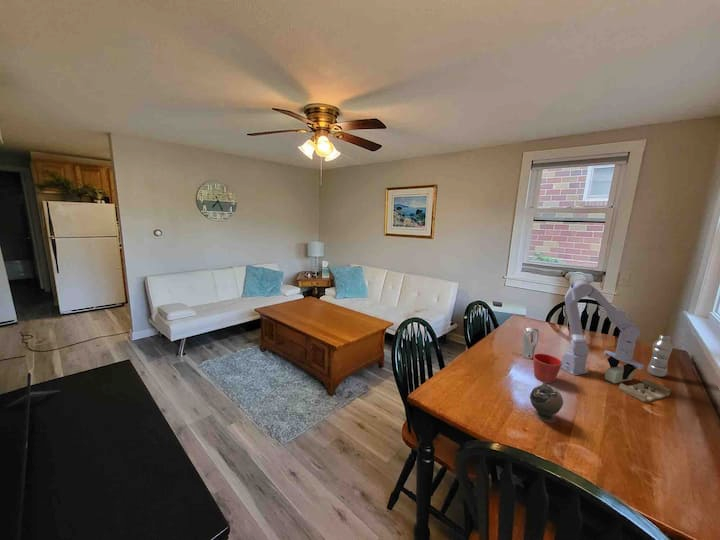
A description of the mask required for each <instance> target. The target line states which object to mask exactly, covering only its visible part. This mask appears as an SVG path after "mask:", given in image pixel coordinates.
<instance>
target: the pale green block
mask: <svg viewBox="0 0 720 540" xmlns="http://www.w3.org/2000/svg"><path fill="white" fill-rule="evenodd" d="M623 373H624V367H623V365H618V367H612V368H610V367H609V368H606V371H605V374H604V379H605V380H607V381H609V382H610V383H613V384H618V383H619V384H620V383H623V382H626V381H627V382H629V381H632V380H633V377H634V373H635V370H634V371H632V372H631V374H630V375H629V376H628V378H627V379H625V380H624V379H623Z"/></svg>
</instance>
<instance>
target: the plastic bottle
mask: <svg viewBox="0 0 720 540" xmlns="http://www.w3.org/2000/svg"><path fill="white" fill-rule="evenodd" d="M671 340H672V336H670V335H668V334H664V333H660V334H659V336H658V339H656V340H655V341H653V343H652V353H651V354H652V355H651V359H650V361H649V363H648V364H647V372H648V373H649V374H650V375H652V376H655V377H659V378H664V377H666V376H667V374H668V363H669V359H670V356H671V353H672V351H673V349H674V348H673V344H672V343H671V342H670V341H671Z"/></svg>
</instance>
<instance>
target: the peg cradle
mask: <svg viewBox="0 0 720 540" xmlns="http://www.w3.org/2000/svg"><path fill="white" fill-rule="evenodd" d="M618 390H619V391H620V392H622V393H624V394H627V395H628V396H629V397H633V398H635V399H636V400H639V401H640V402H642V403H645V404H646V403H648V402H651V401H655V400H660V399H663V398H667V397H670V394H671V388H668V387H665V386H663V385H661V384H659V383H656V382H655V381H652V380H649V379H648V378H646V377H644V378H642V381H641V382H640V383H636V384H631V385H626V384H624V383H623V382H619V387H618Z"/></svg>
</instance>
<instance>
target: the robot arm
mask: <svg viewBox="0 0 720 540" xmlns="http://www.w3.org/2000/svg"><path fill="white" fill-rule="evenodd" d="M586 297H587V298H589V299H592V300H593V299H594V300H595V301H596V302H597V303H598V304H599V305H600V306H601V307H602V308H603V309H604V310H605V311H606V317H607V318H608V319H609V320H610V322H612V324H614V325H615V327H617V328H618V330H619V331H620V332H619V335H618V340H617V345H616V348H615V352H613V351H609V350H603V355H604V356H606V357H607V356H608V357H607V358H606V359H607V362H608V364H609V366H610V367H609V368H612V367H618V366H619V364H620V362H622V363H624V364H623V365H622V366H623V367H624V373H623V379H624V380H625V379H627V378H628V376H629V375H630V374H631V372H632V371H634V372H635V370H636V369H637V370H638V371H639V370H640V371H641V370H644V367H645V365H644V364H642V363H641V362H638V361H636V360H634V359H633V355H634V351H635V347H636V342H637V338H638V337H639V336H640V335H641V332H640V328H639V327H638V326H637V325H636V324H635V323H634V321H633V319H630V318H629V317H628V316H627V315H626V311H624V310H623V309H622V310H621V308H617V307H614V306H613V304H612V303H610V301H608V300H607V298H606V297H605V296H604V295H603V294H602V293H601V292H600V291H599V290H598V289H597V288H596V287H594V286H593V284H590V283H589V282H588V281H587V280H586V279H583V278H580V279H576V280H574V281H573V282H572V283H571V284H570V285H569V288H568V289H567V291H566V294H565V295H564V304H565V309H566V314H567V319H568V324H569V329H570V330H569V331H570V337H571V338H570V340H569V343H570V345H571V347H569V349H568V351H567V353H564V354H563V356H562V360H561V362H562V365H561V367H560V369H562V370H564V371H566V372H568V373H570V374H572V375H574V376H578V375H583V374H588V373H590V371H589V370H587V369H586V364H587V359H588V354H589V353H590V347H589V346H588V345H587V341H586V339H585V336H584V332H583V326H582V321H581V315H580V312H579V307H578V302H579V301H580V300H582V298H586Z"/></svg>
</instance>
